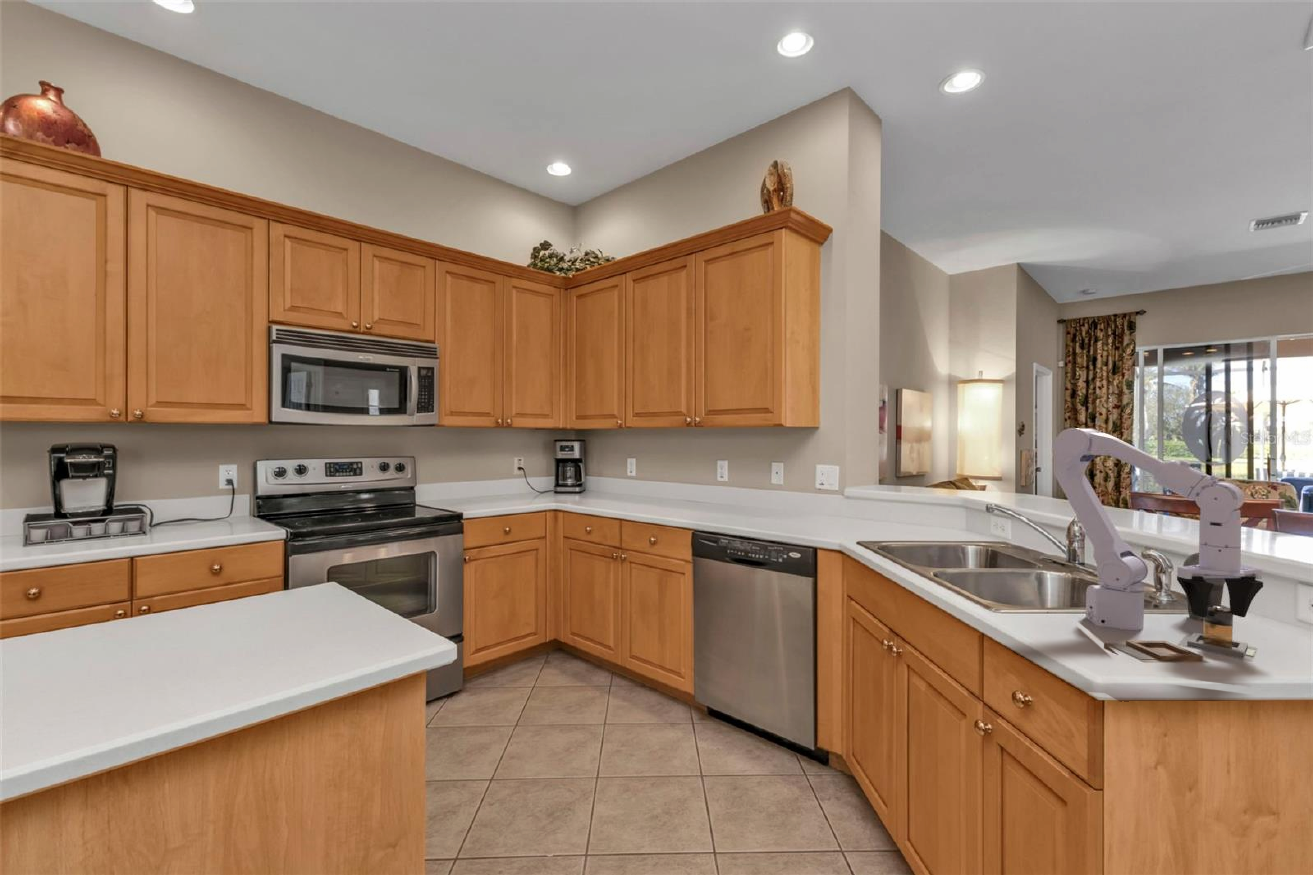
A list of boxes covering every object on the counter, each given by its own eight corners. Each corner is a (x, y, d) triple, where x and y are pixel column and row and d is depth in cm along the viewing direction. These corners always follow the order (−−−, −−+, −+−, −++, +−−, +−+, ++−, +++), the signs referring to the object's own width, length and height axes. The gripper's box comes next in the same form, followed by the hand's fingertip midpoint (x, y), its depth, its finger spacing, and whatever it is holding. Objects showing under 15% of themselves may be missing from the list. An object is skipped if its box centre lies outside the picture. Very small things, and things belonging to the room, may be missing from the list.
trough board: (1143, 667, 102) (1144, 657, 102) (1103, 648, 111) (1104, 639, 111) (1210, 667, 102) (1210, 657, 102) (1164, 648, 111) (1164, 639, 111)
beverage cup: (1172, 617, 131) (1174, 529, 130) (1207, 618, 130) (1208, 530, 130) (1199, 628, 123) (1201, 535, 123) (1236, 629, 123) (1238, 536, 122)
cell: (1210, 648, 109) (1211, 609, 109) (1198, 641, 113) (1199, 603, 112) (1237, 651, 107) (1238, 611, 107) (1224, 644, 111) (1225, 605, 111)
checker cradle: (1252, 666, 103) (1252, 656, 103) (1177, 650, 111) (1177, 640, 111) (1257, 653, 109) (1257, 643, 109) (1186, 638, 117) (1186, 629, 117)
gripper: (1202, 549, 106) (1201, 622, 106) (1279, 549, 106) (1278, 622, 106) (1167, 541, 113) (1167, 610, 113) (1240, 542, 113) (1239, 610, 113)
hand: (1218, 615), depth 110 cm, fingers open, 7 cm apart
